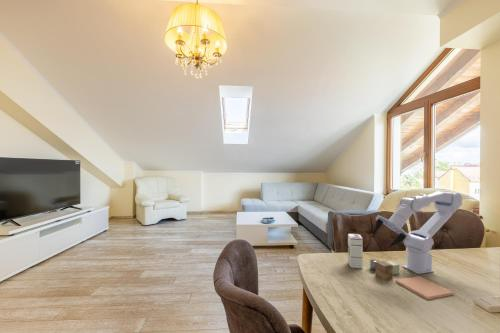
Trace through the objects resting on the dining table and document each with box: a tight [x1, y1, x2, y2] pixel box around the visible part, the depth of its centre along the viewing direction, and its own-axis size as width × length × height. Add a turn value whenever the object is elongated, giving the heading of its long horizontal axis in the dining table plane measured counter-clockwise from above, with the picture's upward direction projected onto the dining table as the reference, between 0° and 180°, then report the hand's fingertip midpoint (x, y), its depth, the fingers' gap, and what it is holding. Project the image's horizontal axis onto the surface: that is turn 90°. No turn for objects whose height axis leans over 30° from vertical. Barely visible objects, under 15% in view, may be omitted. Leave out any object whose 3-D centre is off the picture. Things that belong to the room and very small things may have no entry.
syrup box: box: [347, 233, 364, 269], centre depth 113 cm, size 6×6×14 cm
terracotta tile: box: [395, 275, 454, 301], centre depth 93 cm, size 13×13×1 cm
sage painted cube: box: [387, 261, 400, 275], centre depth 106 cm, size 4×4×4 cm
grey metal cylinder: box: [369, 258, 379, 272], centre depth 109 cm, size 4×4×4 cm
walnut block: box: [375, 260, 394, 281], centre depth 101 cm, size 4×4×6 cm
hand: (381, 240), depth 102 cm, fingers open, 7 cm apart
